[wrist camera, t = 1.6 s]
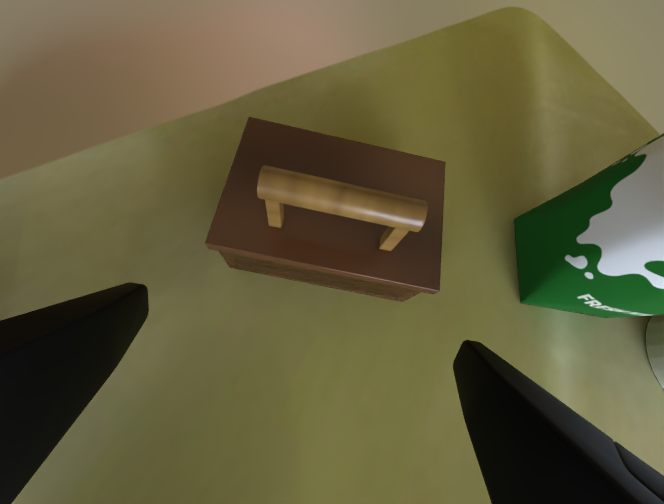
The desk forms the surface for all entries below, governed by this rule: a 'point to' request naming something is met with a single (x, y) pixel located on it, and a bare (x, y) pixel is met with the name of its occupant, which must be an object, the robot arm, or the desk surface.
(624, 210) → the milk carton
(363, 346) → the desk surface
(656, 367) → the reusable coffee cup
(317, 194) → the tea lid
